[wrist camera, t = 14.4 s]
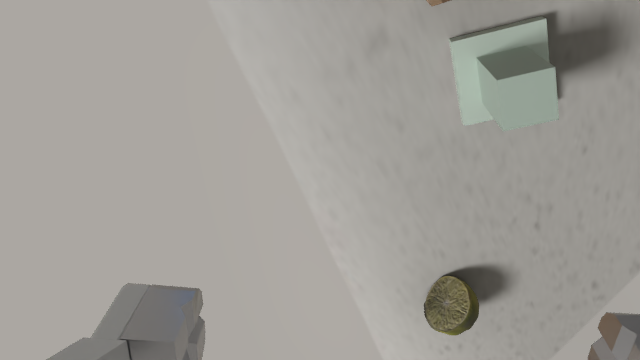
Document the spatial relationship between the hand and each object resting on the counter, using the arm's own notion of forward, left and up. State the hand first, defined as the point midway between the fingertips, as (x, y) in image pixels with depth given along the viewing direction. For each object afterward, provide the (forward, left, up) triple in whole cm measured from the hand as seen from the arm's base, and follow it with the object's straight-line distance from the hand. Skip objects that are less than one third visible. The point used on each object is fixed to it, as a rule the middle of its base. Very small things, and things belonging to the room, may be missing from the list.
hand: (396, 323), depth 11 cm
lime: (+25, +1, -31) cm, 40 cm away
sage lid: (+6, +9, -31) cm, 33 cm away
